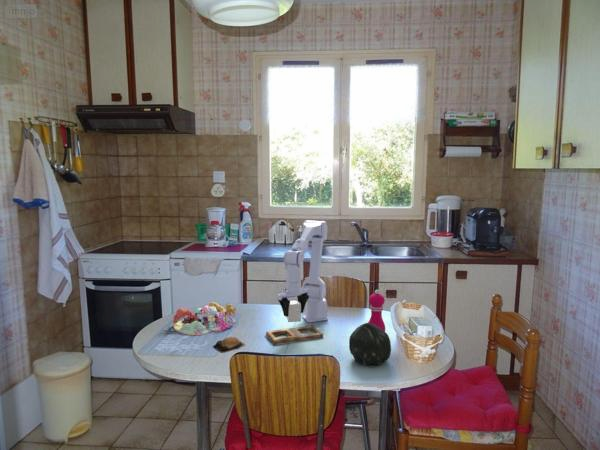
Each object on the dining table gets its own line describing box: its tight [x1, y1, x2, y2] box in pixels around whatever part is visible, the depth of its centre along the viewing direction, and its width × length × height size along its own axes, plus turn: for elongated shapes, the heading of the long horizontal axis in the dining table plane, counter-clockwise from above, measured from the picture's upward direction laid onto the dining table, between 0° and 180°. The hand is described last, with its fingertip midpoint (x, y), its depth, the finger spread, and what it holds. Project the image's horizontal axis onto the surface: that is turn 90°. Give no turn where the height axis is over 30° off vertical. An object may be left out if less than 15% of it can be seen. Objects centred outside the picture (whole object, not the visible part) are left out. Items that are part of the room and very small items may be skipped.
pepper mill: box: [367, 289, 386, 332], centre depth 169 cm, size 7×7×20 cm
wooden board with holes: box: [265, 324, 324, 346], centre depth 173 cm, size 20×10×2 cm, turn 111°
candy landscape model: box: [172, 301, 237, 336], centre depth 185 cm, size 25×24×9 cm
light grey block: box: [286, 299, 302, 323], centre depth 171 cm, size 5×5×7 cm
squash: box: [348, 322, 392, 366], centre depth 150 cm, size 14×15×15 cm
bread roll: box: [212, 336, 246, 353], centre depth 163 cm, size 11×9×4 cm
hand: (293, 314), depth 171 cm, fingers closed on light grey block, 7 cm apart
